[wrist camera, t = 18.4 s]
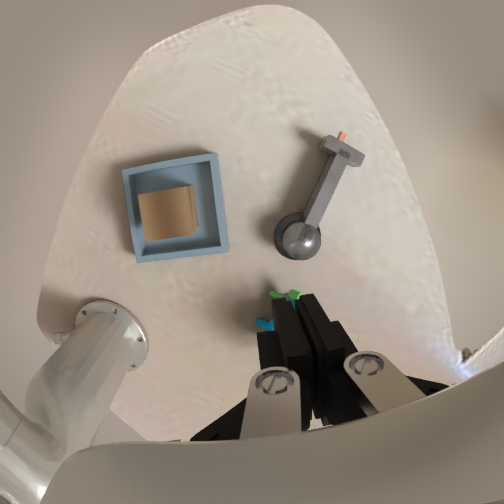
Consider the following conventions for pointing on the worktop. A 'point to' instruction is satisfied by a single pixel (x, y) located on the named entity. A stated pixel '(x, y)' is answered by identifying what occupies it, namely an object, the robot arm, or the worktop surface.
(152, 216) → the block
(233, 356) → the worktop surface
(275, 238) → the pivot base
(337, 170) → the lever
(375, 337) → the worktop surface
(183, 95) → the worktop surface
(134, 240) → the tray
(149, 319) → the worktop surface
